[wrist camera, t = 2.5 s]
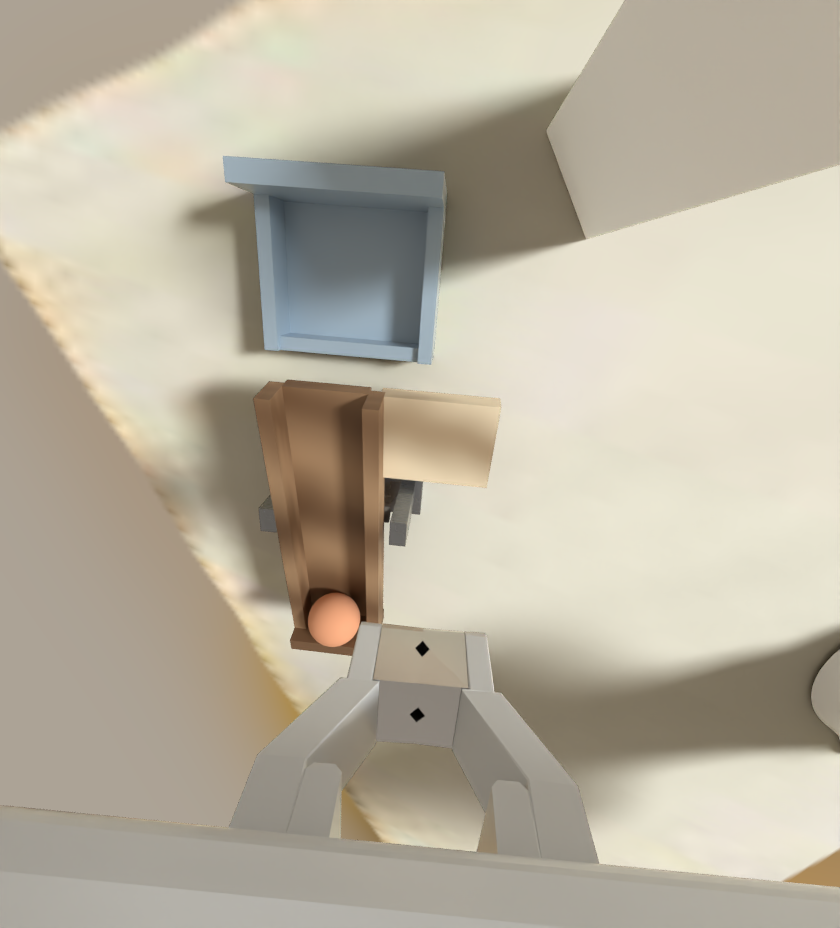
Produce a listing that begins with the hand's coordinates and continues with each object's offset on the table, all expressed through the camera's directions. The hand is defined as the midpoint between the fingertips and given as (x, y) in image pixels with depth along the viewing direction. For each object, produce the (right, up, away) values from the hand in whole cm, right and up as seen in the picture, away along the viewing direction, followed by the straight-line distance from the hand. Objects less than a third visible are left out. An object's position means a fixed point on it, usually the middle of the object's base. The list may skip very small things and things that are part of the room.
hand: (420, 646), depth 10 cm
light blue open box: (-4, +16, +16) cm, 23 cm away
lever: (-2, +1, +18) cm, 18 cm away
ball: (-6, -6, +19) cm, 21 cm away
